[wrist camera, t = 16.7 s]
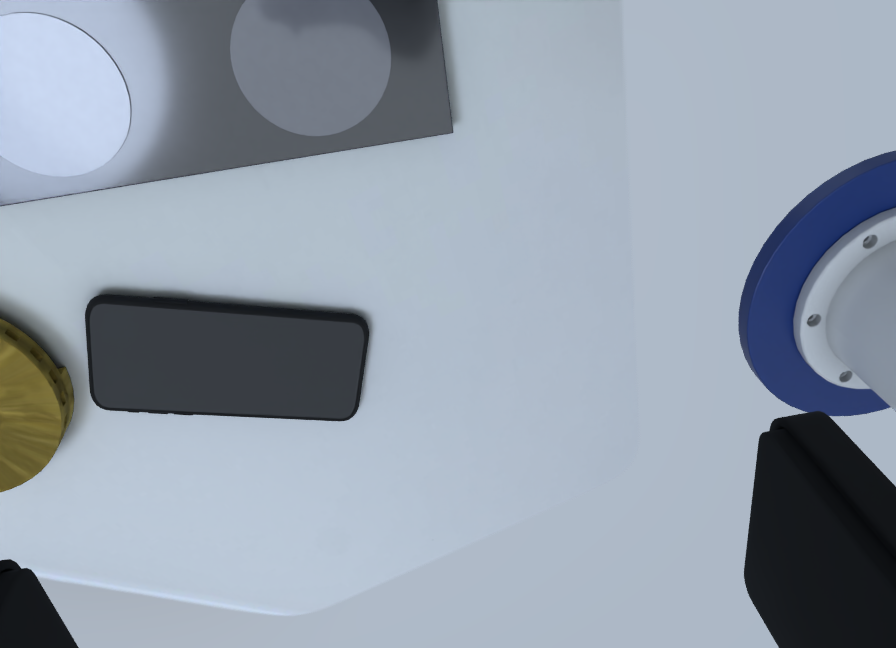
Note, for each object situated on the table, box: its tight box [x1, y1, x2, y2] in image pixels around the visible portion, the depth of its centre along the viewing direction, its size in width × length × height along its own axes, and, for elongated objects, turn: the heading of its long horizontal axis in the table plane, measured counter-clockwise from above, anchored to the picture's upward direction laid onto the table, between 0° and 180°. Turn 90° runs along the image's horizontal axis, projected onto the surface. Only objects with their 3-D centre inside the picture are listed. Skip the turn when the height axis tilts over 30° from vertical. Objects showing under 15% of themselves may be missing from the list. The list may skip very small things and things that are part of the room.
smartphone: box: [85, 295, 369, 421], centre depth 42 cm, size 7×1×15 cm
